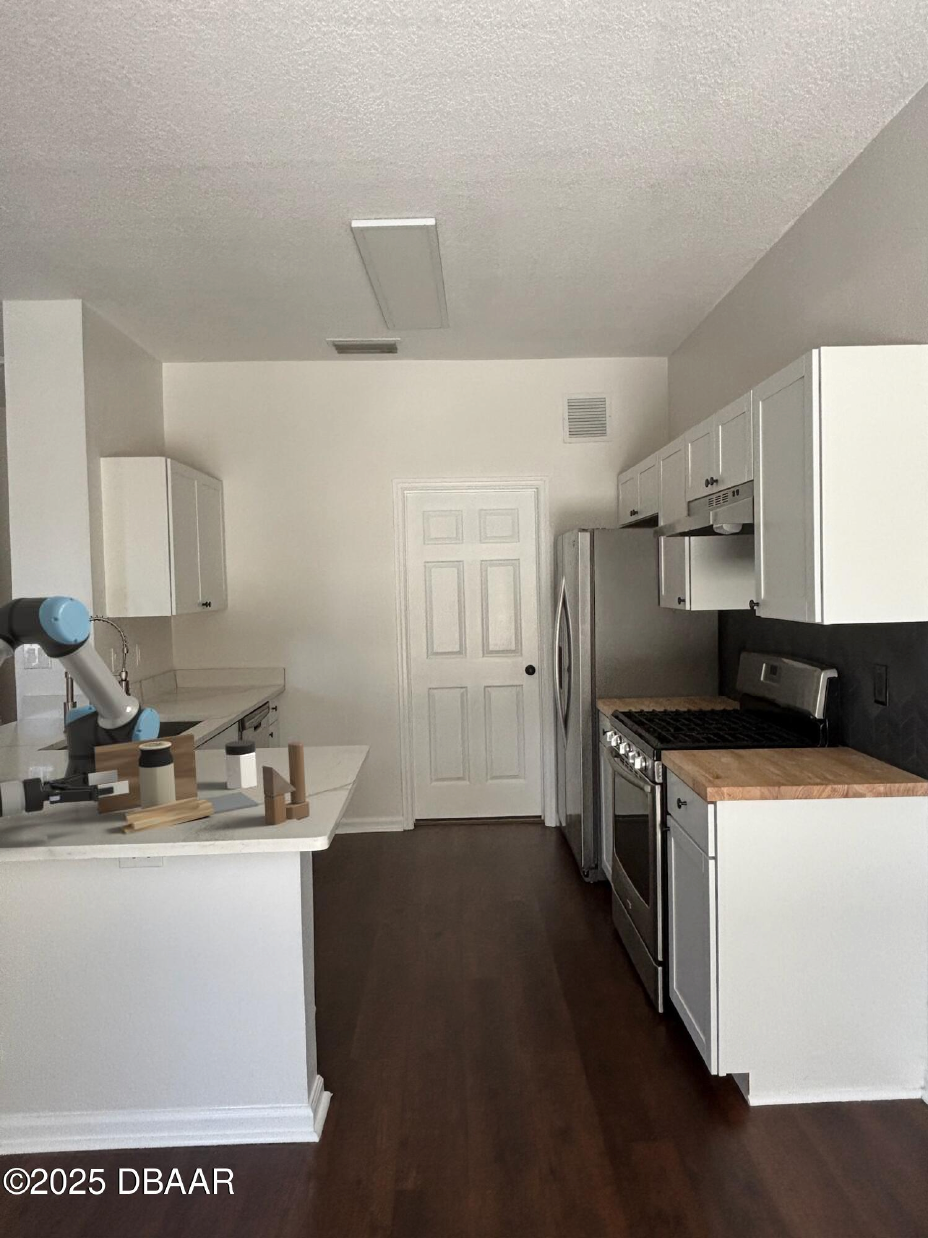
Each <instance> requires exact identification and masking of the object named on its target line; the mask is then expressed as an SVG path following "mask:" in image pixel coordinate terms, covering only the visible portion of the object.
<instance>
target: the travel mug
mask: <svg viewBox="0 0 928 1238" xmlns="http://www.w3.org/2000/svg"><path fill="white" fill-rule="evenodd" d="M170 745H171V743H170V742H164V741H161V742H150V743H145V744H142V745H140V746H139V749H140V751H141V755H140V757H139V759H138V762H139V779H140V795H141V807H140V808H141V809H140V810H143V809H147V808H151V807H155V806H160V805H164V804H168V803H173V802H177V801H176V799H175V782H174V765H173V755H172V754H171V752H170Z"/></svg>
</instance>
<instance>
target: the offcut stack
mask: <svg viewBox="0 0 928 1238" xmlns="http://www.w3.org/2000/svg"><path fill="white" fill-rule="evenodd" d="M198 800H199V799H197V797H194V798H189V799H184V800H178V801H176V802H173V803H168V804H164V805H160V806H155V807H151V808H147V809H143V810H141V809H139V810H135V811H131V812H126V813H124V817H125V818H124V819H125V821H126V822H127V824H125V825H121V830H122V831H123V832H124V834H125V835H128V834H130V835H131V834H135V833H140V832H144V831H149V830H155V829H159V828H160V829H161V828H164V827H169V826H173V825H178V824H181V823H185V822H186V823H187V822H188V821H189V822H190V821H193V820H197V819H201V818H204V817H208V816H212V814H213V815H215V814H214V811H213V808H212V803H210V802H208V801H207V800H201V801H198Z"/></svg>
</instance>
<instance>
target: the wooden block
mask: <svg viewBox="0 0 928 1238" xmlns="http://www.w3.org/2000/svg"><path fill="white" fill-rule="evenodd" d="M287 751H288V752H287V754H288V755H287V756H288V770H289V771H288V773H289V781H288V780H287V779H286V778H285V777H283V775H281V774H280V773H279V772H278V771H277V770H276V769H275V768H274V767H272V766H266V765H262V785H263V788H262V789H263V796H264V798H263V799H264V801H263V802H264V817H265V818H264V820H265V824H267V825H272V826H277V825H280V824H283V823H286V822H287V821H289V820H290V821H291V820H297V821H298V820H301V819H304V818H306V817H309V816H310V811H311V810H310V801H309V800H308V801H307V796H306V791H307V790H306V773H305V755H304V754H305V753H304V751H305V750H304V742H302V741H293V742H289V743H288V745H287ZM289 793H290V802H288V803H286V795H287V794H289Z"/></svg>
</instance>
